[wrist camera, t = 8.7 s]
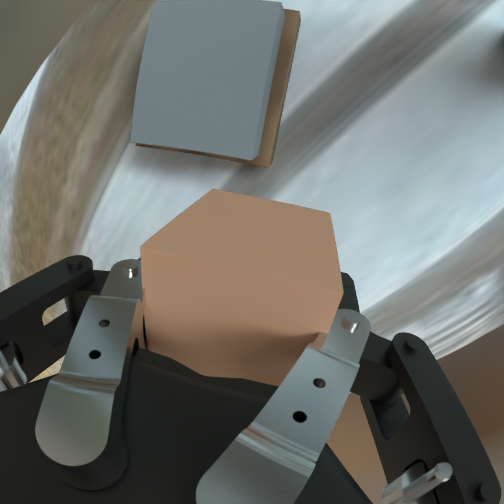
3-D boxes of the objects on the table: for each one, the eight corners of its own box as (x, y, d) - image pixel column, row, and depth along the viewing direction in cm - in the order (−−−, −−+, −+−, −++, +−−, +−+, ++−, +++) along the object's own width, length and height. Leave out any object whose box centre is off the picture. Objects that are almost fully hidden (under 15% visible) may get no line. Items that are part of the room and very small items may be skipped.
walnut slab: (300, 22, 26) (299, 11, 22) (272, 162, 34) (268, 168, 30) (173, 14, 27) (159, 5, 24) (151, 142, 35) (135, 145, 32)
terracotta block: (330, 213, 12) (343, 292, 7) (302, 310, 14) (292, 412, 9) (212, 189, 12) (140, 245, 7) (203, 287, 15) (151, 374, 9)
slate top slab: (285, 16, 23) (281, 2, 19) (258, 155, 30) (251, 160, 26) (170, 11, 24) (154, 1, 20) (148, 138, 31) (130, 142, 27)
